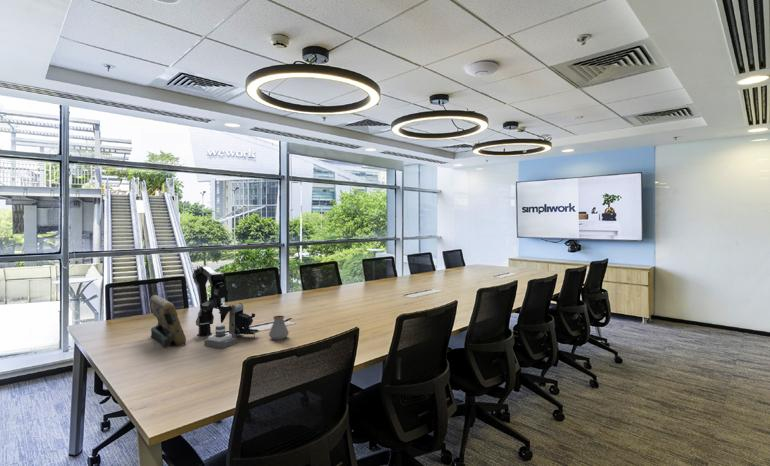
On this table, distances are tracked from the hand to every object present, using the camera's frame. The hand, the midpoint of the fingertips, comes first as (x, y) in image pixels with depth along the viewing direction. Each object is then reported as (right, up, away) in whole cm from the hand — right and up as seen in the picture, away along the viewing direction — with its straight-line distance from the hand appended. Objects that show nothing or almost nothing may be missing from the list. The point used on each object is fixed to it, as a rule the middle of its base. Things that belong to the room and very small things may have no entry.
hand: (215, 321), depth 229 cm
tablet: (-29, -12, +2) cm, 31 cm away
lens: (+5, -9, -5) cm, 11 cm away
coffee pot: (+38, -12, +4) cm, 40 cm away
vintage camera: (+14, -12, +9) cm, 20 cm away
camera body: (+5, -12, -5) cm, 13 cm away
